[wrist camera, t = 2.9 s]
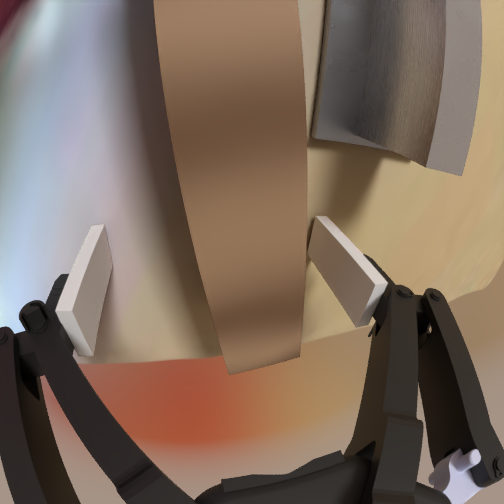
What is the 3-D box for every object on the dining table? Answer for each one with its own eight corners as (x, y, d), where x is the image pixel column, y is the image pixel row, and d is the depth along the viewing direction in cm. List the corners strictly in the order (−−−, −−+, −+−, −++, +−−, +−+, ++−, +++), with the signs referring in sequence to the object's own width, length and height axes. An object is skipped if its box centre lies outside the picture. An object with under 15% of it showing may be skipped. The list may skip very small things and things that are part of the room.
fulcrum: (310, 136, 14) (379, 171, 9) (329, -49, 7) (396, -83, 2) (413, 154, 16) (480, 190, 11) (430, 2, 9) (500, 3, 4)
